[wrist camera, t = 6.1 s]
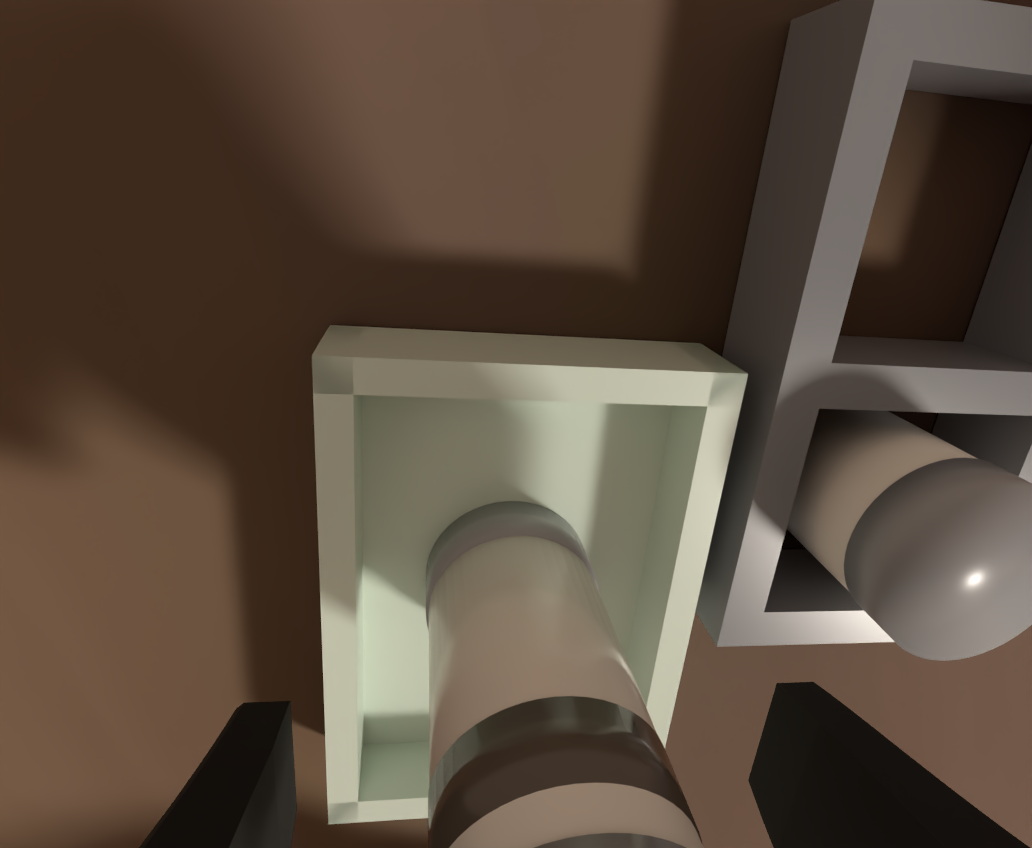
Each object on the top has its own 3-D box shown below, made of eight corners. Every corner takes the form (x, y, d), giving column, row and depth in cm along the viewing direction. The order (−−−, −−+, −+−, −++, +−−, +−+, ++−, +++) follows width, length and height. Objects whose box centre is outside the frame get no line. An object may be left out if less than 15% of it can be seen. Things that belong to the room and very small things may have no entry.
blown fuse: (599, 506, 13) (831, 963, 5) (570, 639, 14) (731, 1164, 7) (434, 495, 12) (446, 987, 5) (418, 635, 13) (409, 1204, 6)
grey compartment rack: (1099, 60, 11) (1430, 9, 8) (911, 577, 15) (1069, 709, 12) (791, 19, 11) (996, -62, 7) (676, 580, 15) (764, 724, 11)
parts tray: (700, 343, 12) (748, 373, 11) (626, 730, 16) (652, 803, 14) (329, 324, 11) (311, 355, 10) (340, 744, 15) (328, 824, 13)
